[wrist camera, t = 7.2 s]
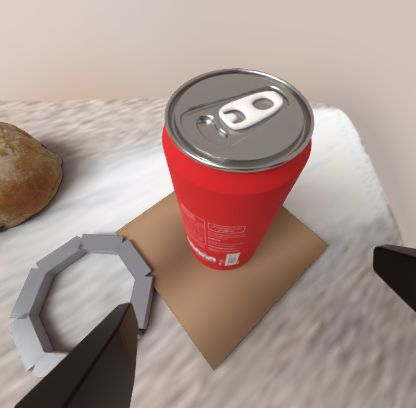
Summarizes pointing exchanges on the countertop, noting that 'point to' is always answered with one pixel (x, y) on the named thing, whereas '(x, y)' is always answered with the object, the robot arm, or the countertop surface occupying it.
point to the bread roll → (25, 175)
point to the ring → (39, 286)
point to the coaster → (220, 275)
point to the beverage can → (234, 158)
